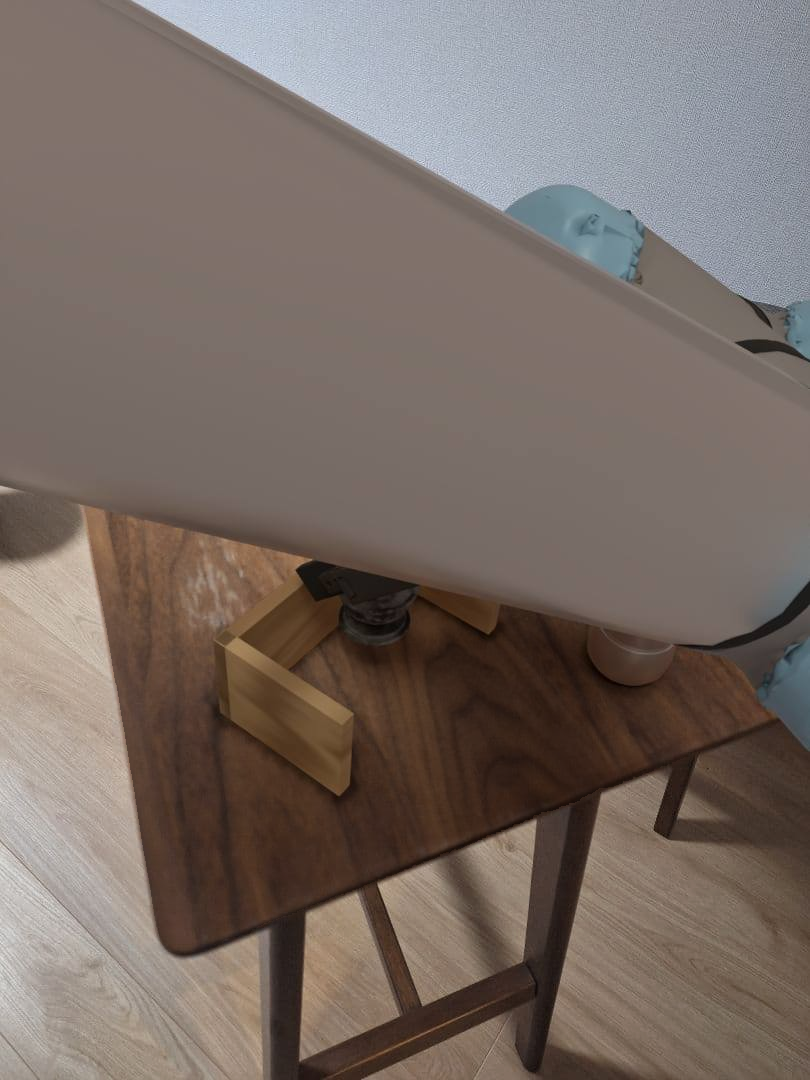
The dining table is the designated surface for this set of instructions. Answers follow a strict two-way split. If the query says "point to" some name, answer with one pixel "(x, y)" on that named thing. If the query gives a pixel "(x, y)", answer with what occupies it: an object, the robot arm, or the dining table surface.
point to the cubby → (286, 700)
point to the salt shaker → (377, 618)
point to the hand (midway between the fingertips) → (336, 560)
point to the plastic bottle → (628, 656)
